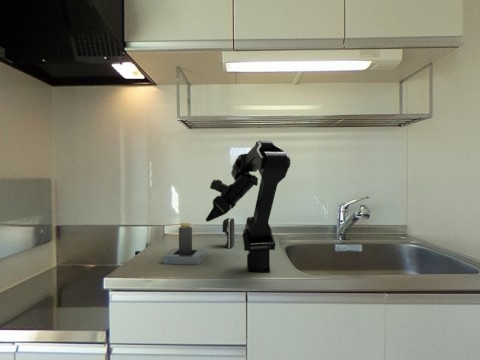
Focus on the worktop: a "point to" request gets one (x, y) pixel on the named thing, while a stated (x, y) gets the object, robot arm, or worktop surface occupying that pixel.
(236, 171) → the robot arm
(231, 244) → the battery charger
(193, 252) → the housing
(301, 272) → the worktop surface
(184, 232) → the plug
